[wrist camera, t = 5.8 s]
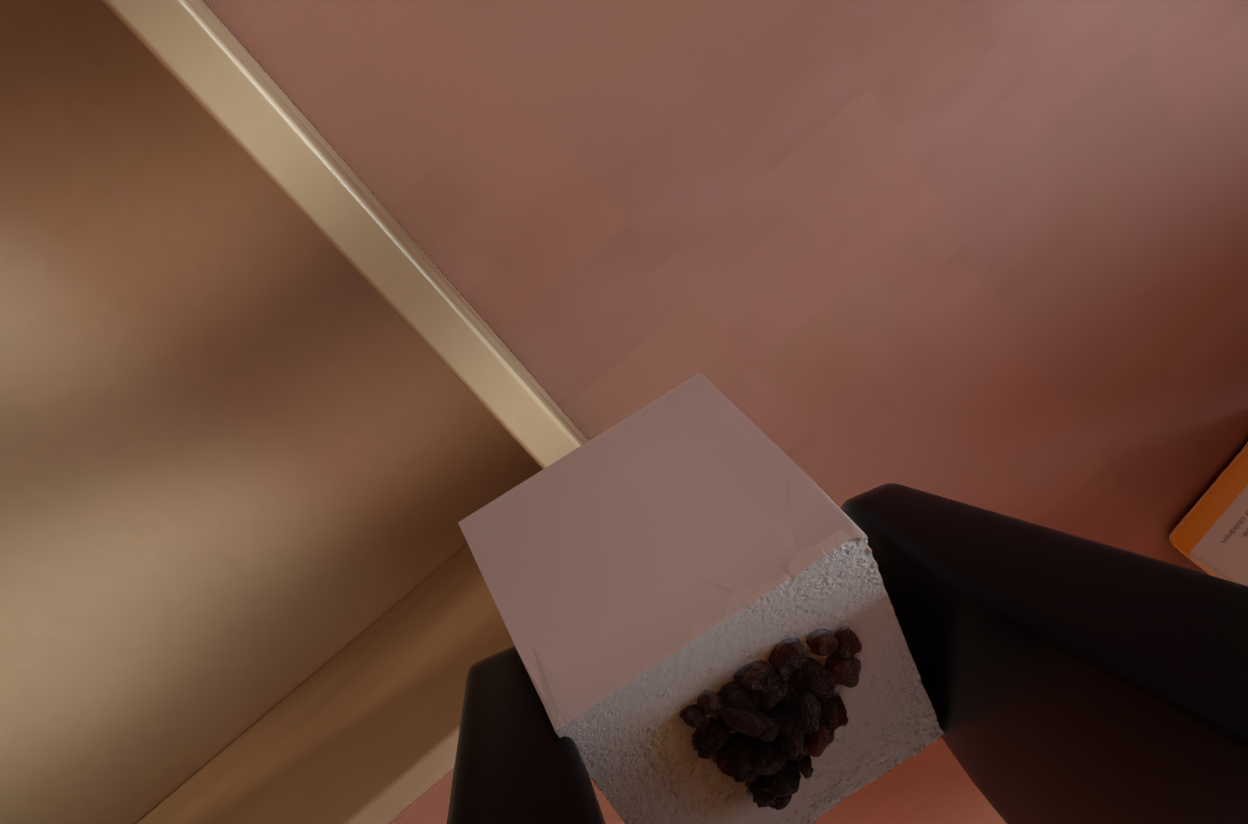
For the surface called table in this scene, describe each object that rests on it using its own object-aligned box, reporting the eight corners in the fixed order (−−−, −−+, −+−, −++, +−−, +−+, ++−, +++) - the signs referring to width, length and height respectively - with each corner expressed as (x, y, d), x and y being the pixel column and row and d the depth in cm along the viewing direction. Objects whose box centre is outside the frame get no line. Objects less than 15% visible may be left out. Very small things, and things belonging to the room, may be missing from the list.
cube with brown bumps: (454, 521, 8) (566, 763, 6) (698, 366, 8) (890, 546, 6) (577, 695, 9) (708, 946, 7) (787, 556, 9) (973, 758, 7)
